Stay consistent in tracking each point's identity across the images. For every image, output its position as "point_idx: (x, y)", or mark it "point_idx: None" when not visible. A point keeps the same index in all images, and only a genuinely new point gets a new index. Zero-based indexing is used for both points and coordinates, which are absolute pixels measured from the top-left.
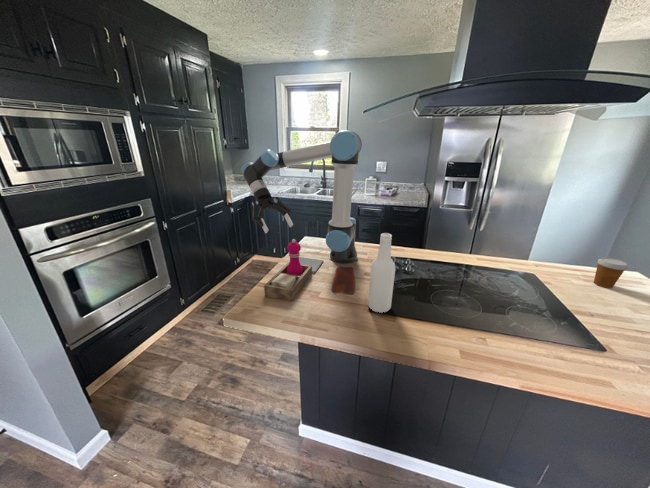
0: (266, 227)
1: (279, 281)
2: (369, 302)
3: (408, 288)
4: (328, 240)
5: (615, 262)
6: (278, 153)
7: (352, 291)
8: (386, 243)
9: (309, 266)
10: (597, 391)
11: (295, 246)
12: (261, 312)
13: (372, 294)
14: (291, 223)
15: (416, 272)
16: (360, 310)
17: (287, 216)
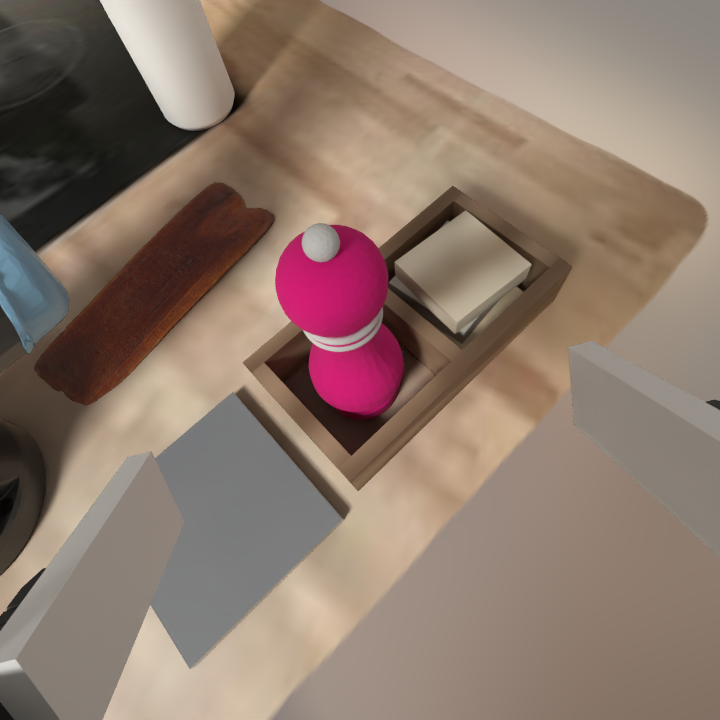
0: (613, 359)
1: (491, 248)
2: (226, 88)
3: (33, 149)
4: (35, 257)
5: None
6: None
7: (209, 188)
8: None
9: (259, 361)
10: None
11: (335, 225)
12: (587, 206)
13: (213, 41)
14: (144, 465)
15: None
16: (263, 112)
17: (72, 589)
